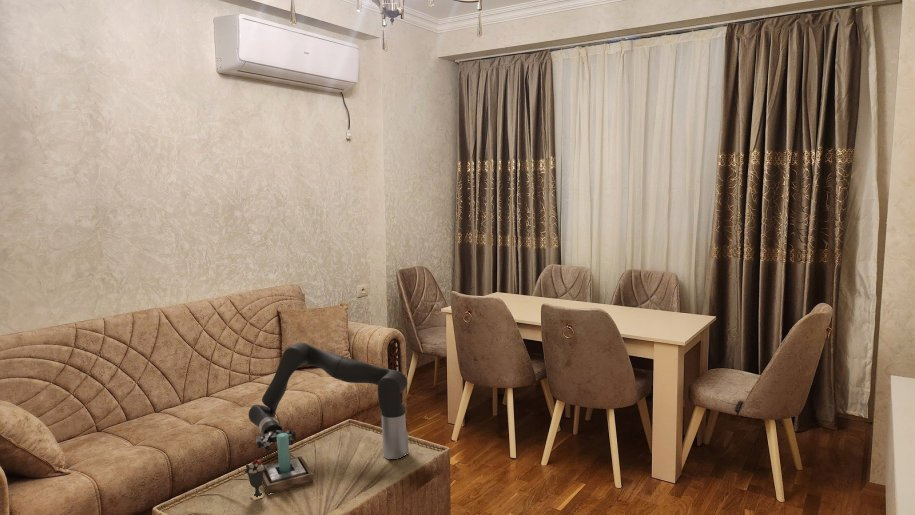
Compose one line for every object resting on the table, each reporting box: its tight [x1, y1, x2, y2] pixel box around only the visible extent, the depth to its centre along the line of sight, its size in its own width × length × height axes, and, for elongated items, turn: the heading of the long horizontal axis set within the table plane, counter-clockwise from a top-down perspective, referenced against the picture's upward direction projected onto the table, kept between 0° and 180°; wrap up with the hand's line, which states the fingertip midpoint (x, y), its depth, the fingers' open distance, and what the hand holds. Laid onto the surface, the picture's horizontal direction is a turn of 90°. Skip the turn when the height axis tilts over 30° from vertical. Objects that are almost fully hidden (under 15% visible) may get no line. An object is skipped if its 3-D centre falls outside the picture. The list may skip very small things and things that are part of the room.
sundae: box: [244, 454, 266, 497], centre depth 218 cm, size 7×7×15 cm
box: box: [262, 455, 314, 495], centre depth 230 cm, size 16×16×4 cm
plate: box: [265, 457, 306, 484], centre depth 230 cm, size 12×12×3 cm
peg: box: [276, 433, 291, 474], centre depth 229 cm, size 4×4×16 cm
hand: (280, 445), depth 232 cm, fingers open, 8 cm apart
